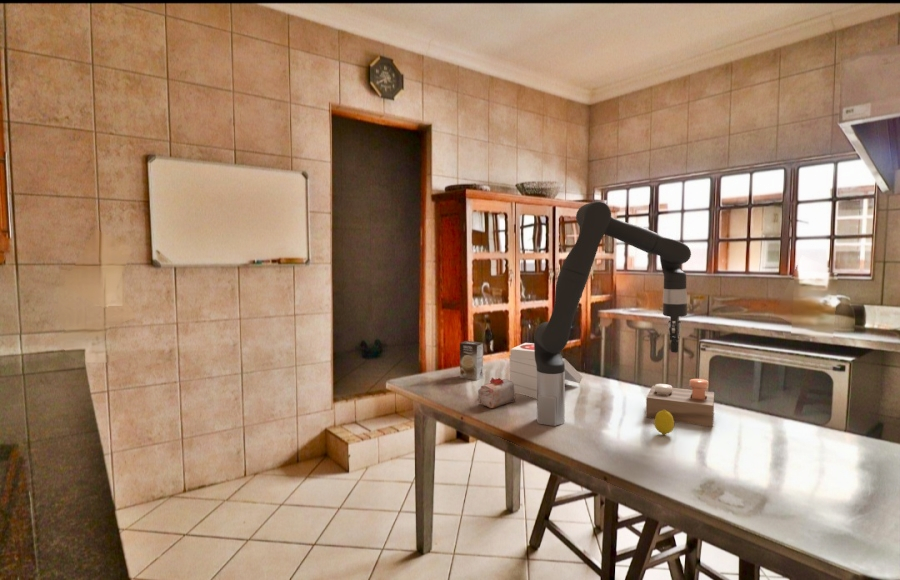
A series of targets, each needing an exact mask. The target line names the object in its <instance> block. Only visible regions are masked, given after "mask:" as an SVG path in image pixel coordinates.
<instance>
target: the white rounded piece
mask: <svg viewBox="0 0 900 580" xmlns="http://www.w3.org/2000/svg"><path fill="white" fill-rule="evenodd" d="M654 386H655V392H657V394H661V395H669V396H670V394H671V393H672V388H673V386H672V385H671V384H666V383H656V384H654Z"/></svg>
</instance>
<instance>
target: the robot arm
mask: <svg viewBox="0 0 900 580" xmlns="http://www.w3.org/2000/svg"><path fill="white" fill-rule="evenodd" d="M575 215H576V216H575V219H576V222H577V224H578V226H579V227H580V230H579V231H580V232H579V235H578V237H577V240H576V242H575V243H574V245H573V247H572V248H571V250H570V251H569V252H568V254H567V256H566V257H565V259H564V261H563V262H562V265H561V267H560V269H559V274H558V276H557V278H556V279H557V280H556V282H555V289H554V290H555V291H554V292H555V293H554V305H553V309H552V313H551V315H550V318H549V321H544V322H542V323H540V324H539V325H538V326H537V327H536V328H535V331H534V335H533V336H534V337H533V343H534V351H535V362H536V366H537V399H536V421H537V424H540V425H546V426H551V427H557V426H559V425H562V424H564V423H565V422H566V420H565V418H566V417H565V414H566V408H565V407H566V405H565V401H566V399H565V396H566V395H565V394H566V392H565V391H566V388H565V386H566V384H565V382H566V380H565V364H564V361H563V359H562V358H563V355H562V351H563V350H564V349H565V348H566V347H567V344H568V342H569V339H570V335H571V329H572V325H573V322H574V317H575V314H576V311H577V309H578V307H579V304H580V301H581V298H582V296H583V292H584V290H585V288H586V285H587V282H588V279H589V277H590V273H591V270H592V267H593V264H594V261H595V259H596V255H597V251H598V249H599V246H600V243H602V241H603V237H604V235H605V236H607V237H610V238H614V239H616V240H618V241H621V242H623V243H625V244H628V245H629V246H632V247H634V248H636V249H638V250H640V251H643V252H645V253H647V254H650V255H655V256H659V260H660V266H661V271H662V274H663V292H662V315H663V316H664V317H670V320H668V322H667V326H668V334H669V341H670V352H671V353H678V352H679V341H680V337H681V336H680V335H681V331H682V330H681V326H682V320H680V318H685V317H686V316H688V292H687V274H686V272H684V271H683V270H682V268H681V265H682V264H685V263H687V262H688V261H689V260H690V259H691V256H692V252H691V251H692V250H691V248H690V247H689V246H688V245H687V244H685V243H684V242H682V241H679V240H676V239H673V238H670V237H666V236H663V235H661V234H659V233H657V232H655V231H652V230H650V229H649V228H645V227H642V226H640V225H637V224H633V223H631V222H630V223H629V222H626V221H623V220H620V219H617V218H615V217H613V216H612V211H611V207H610V206H609V205H608V204H607V203H606V202H604V201H601V200H600V201H597V200H596V201H592V202H588V203H585V204H583V205H582V206H580V207H579V208H578V210H577V212H576V214H575Z"/></svg>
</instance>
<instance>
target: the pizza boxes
mask: <svg viewBox="0 0 900 580" xmlns="http://www.w3.org/2000/svg"><path fill="white" fill-rule="evenodd" d="M509 351H510V354H509V355H508V356H509V380H510V381H512V382H513V383H514V392H515V393H516V394H520V395H523V396H525V395H526V396H525V397H528V396H529V398H532V397H533V398H532V399H535V398H536V399H535V400H537V366H536V362H535V351H534V342H531V343H530V342H524V343H521V344H519V345H517V346H515V347H512V348H510V349H509ZM562 359H563V361H564V364H565V381H569V382H573V383H577V384H580V383H581V381H582V379H583V376H582V375H581V374H580V372H578V370H576V369H575V367H574V366H573V365H572V364H571V363H570V362H569V361H568V360H567V359H566V358H563V357H562Z"/></svg>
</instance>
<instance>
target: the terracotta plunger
mask: <svg viewBox="0 0 900 580" xmlns="http://www.w3.org/2000/svg"><path fill="white" fill-rule="evenodd" d="M689 388H691V390H692V398H695V399H704V400H705V391H706V390H707V389H709V381H708V380H707V379H703V378H702V379H701V378H691V379H689Z"/></svg>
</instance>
